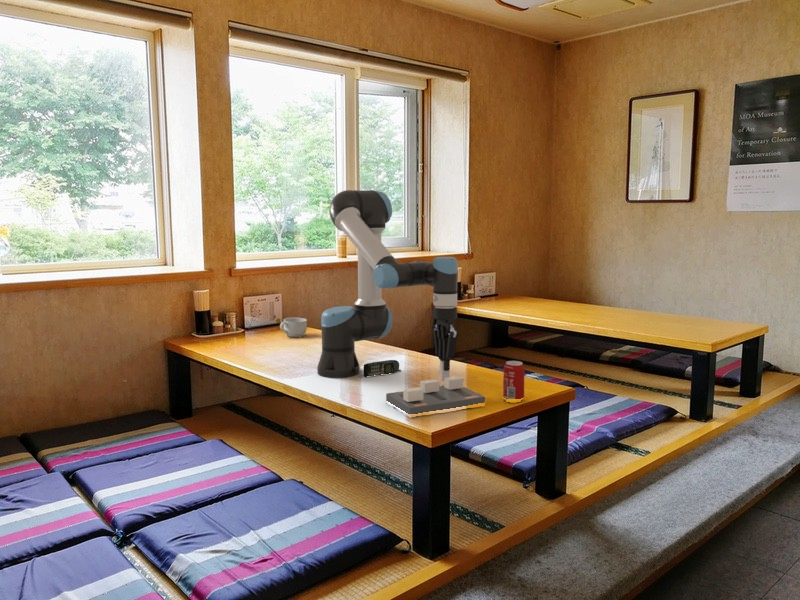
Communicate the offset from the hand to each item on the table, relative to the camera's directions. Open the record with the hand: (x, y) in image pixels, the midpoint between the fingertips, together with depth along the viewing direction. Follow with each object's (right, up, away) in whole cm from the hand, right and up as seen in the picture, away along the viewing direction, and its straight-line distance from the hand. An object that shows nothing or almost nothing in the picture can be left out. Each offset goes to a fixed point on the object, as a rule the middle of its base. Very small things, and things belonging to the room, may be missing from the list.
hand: (444, 379), depth 205 cm
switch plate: (-4, -6, -11) cm, 13 cm away
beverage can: (+21, -6, -7) cm, 23 cm away
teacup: (-64, +8, +92) cm, 112 cm away
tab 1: (-10, -4, -17) cm, 21 cm away
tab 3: (+2, -2, -5) cm, 6 cm away
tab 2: (-5, -2, -9) cm, 10 cm away
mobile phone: (-20, -1, +25) cm, 32 cm away
